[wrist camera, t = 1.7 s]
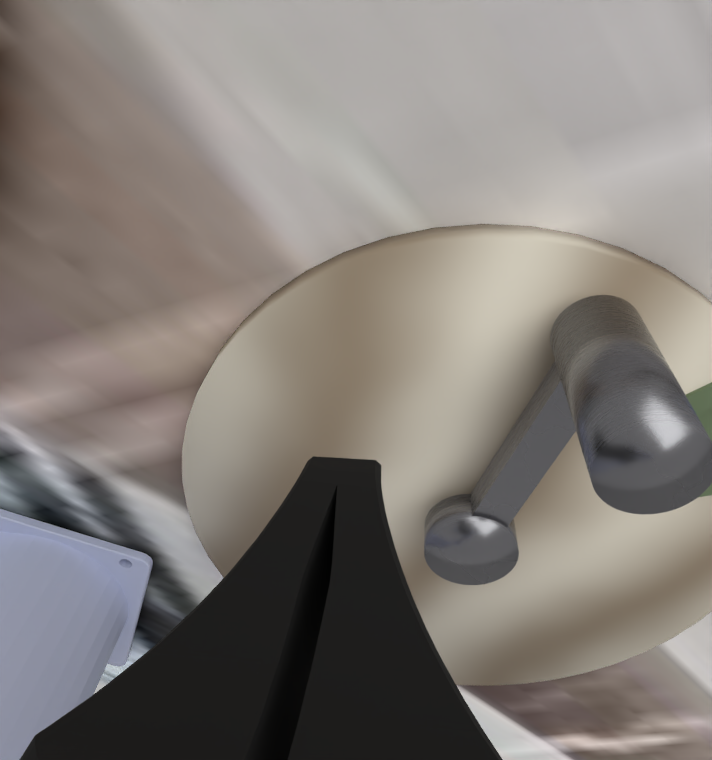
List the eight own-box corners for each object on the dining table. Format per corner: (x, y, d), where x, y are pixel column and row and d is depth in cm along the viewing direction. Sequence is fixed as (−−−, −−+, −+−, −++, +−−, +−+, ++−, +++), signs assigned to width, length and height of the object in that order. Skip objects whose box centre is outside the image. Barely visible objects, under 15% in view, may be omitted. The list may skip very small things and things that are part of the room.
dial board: (149, 581, 28) (139, 603, 27) (273, 111, 17) (263, 121, 16) (575, 710, 30) (580, 735, 29) (933, 369, 19) (959, 392, 18)
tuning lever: (490, 567, 23) (504, 720, 18) (410, 541, 23) (405, 691, 18) (672, 317, 17) (759, 452, 13) (568, 278, 17) (619, 401, 12)
